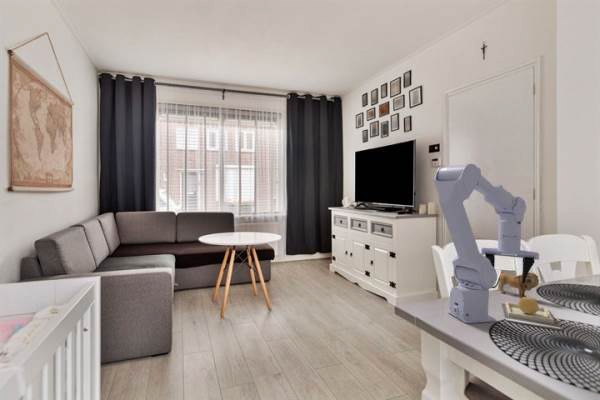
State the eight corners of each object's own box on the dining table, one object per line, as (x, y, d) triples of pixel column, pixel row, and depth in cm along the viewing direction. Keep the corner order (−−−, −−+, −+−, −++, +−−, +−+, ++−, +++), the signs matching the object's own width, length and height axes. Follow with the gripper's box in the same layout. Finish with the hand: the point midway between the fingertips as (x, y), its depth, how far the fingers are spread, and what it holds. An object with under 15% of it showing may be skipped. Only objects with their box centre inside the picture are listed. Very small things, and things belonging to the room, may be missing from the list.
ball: (527, 317, 89) (529, 300, 89) (513, 310, 94) (514, 294, 94) (542, 316, 90) (543, 300, 90) (527, 310, 95) (528, 294, 95)
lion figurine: (541, 299, 105) (542, 272, 105) (534, 302, 102) (535, 275, 102) (494, 288, 118) (495, 264, 117) (487, 290, 115) (488, 265, 115)
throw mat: (561, 331, 81) (561, 326, 81) (506, 321, 87) (506, 316, 87) (548, 311, 95) (549, 306, 95) (501, 304, 101) (501, 300, 101)
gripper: (536, 236, 96) (535, 280, 96) (481, 232, 103) (480, 273, 104) (540, 239, 90) (539, 286, 90) (481, 235, 97) (480, 279, 98)
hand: (508, 280), depth 97 cm, fingers open, 7 cm apart
